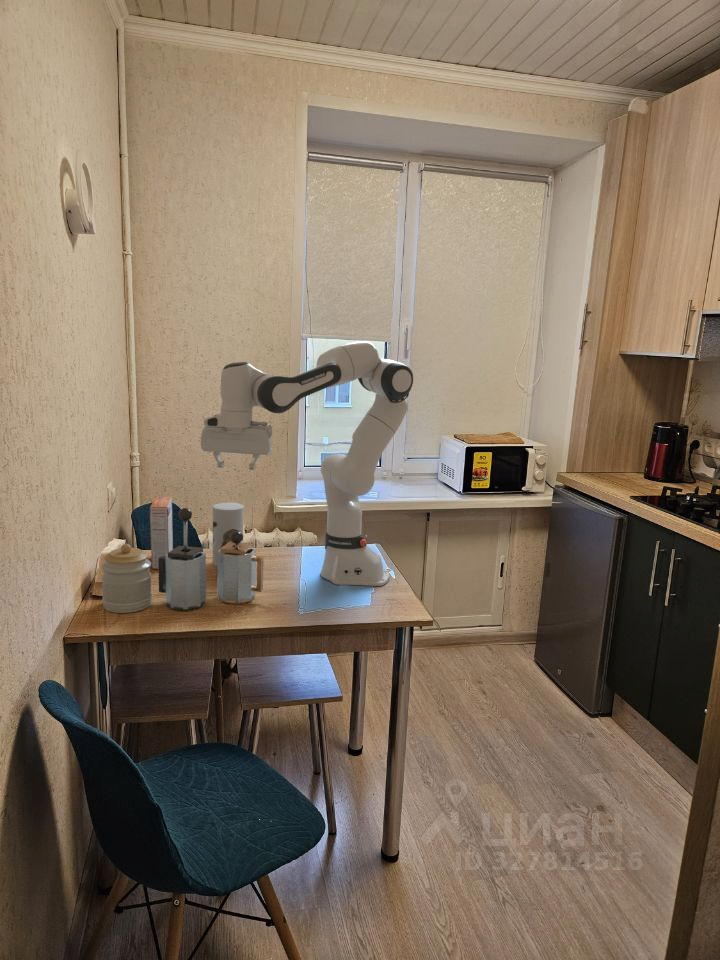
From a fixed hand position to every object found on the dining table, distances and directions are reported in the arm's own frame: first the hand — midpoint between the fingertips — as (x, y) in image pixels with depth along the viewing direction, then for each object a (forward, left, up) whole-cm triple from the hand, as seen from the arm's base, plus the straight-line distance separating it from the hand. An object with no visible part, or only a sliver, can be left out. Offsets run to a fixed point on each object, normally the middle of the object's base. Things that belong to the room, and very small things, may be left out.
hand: (236, 468), depth 190 cm
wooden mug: (+5, -10, -38) cm, 39 cm away
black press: (+11, +13, -37) cm, 41 cm away
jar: (+25, +18, -38) cm, 49 cm away
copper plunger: (-2, +5, -34) cm, 35 cm away
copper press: (-3, +5, -37) cm, 38 cm away
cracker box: (+32, -18, -38) cm, 53 cm away
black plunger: (+10, +13, -27) cm, 31 cm away
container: (+11, -23, -38) cm, 46 cm away
